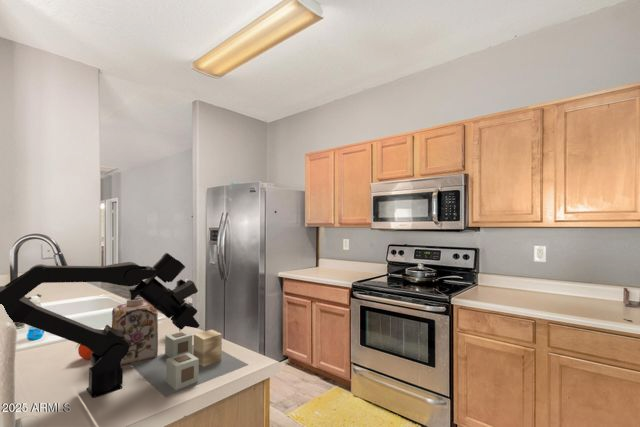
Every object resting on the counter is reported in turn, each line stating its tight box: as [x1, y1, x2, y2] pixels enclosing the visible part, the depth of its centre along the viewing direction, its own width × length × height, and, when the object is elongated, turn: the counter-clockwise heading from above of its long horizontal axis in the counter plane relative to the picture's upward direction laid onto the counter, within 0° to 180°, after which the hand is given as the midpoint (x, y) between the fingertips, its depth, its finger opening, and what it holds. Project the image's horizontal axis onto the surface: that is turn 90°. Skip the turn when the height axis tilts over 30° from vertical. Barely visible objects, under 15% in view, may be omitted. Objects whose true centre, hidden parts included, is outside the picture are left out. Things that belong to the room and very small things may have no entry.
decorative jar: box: [111, 296, 159, 366], centre depth 102 cm, size 12×12×18 cm
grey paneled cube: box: [166, 352, 199, 390], centre depth 85 cm, size 6×6×6 cm
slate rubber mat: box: [129, 344, 249, 398], centre depth 96 cm, size 24×26×1 cm
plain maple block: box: [193, 329, 223, 367], centre depth 98 cm, size 6×6×8 cm
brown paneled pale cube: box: [164, 330, 193, 358], centre depth 103 cm, size 6×6×6 cm
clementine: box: [75, 343, 93, 361], centre depth 99 cm, size 8×7×7 cm
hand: (198, 326), depth 97 cm, fingers closed
